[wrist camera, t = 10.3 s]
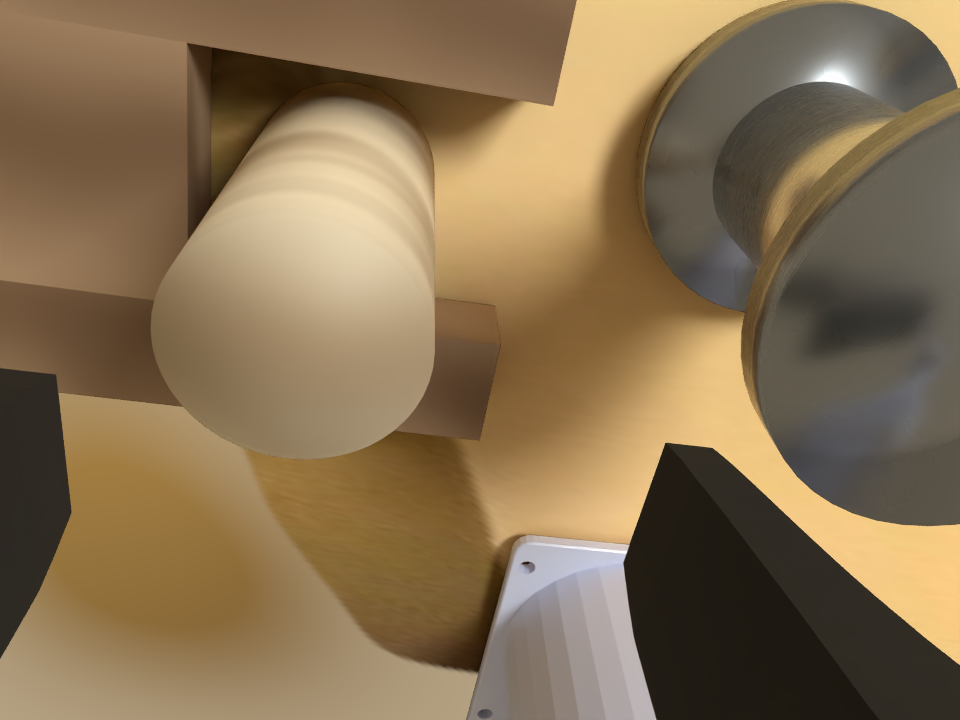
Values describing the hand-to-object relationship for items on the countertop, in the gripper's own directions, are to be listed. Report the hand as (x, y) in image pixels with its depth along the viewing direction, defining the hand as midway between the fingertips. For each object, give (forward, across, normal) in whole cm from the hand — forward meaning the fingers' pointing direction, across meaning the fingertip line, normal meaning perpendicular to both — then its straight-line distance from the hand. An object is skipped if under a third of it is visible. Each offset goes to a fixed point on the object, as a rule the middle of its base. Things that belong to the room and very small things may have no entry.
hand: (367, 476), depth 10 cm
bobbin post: (+10, -9, -2) cm, 14 cm away
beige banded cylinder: (+10, +1, 0) cm, 10 cm away
